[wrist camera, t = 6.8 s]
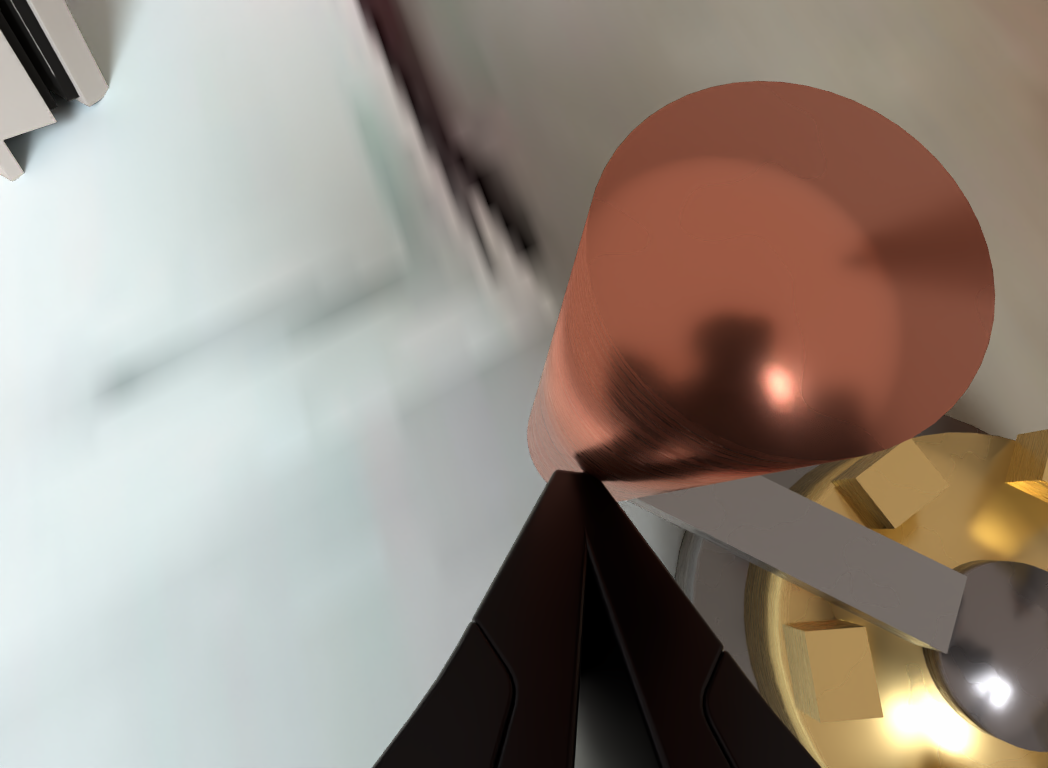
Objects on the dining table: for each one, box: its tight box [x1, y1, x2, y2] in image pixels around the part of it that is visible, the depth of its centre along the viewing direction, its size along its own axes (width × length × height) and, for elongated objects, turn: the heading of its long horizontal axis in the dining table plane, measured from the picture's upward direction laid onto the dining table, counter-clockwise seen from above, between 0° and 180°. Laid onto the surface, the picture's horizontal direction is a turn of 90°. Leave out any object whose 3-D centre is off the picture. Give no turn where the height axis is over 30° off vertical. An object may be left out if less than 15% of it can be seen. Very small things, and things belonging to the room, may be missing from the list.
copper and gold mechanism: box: [527, 81, 1048, 768], centre depth 10 cm, size 18×11×12 cm, turn 64°
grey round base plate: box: [675, 415, 989, 691], centre depth 17 cm, size 13×13×2 cm
